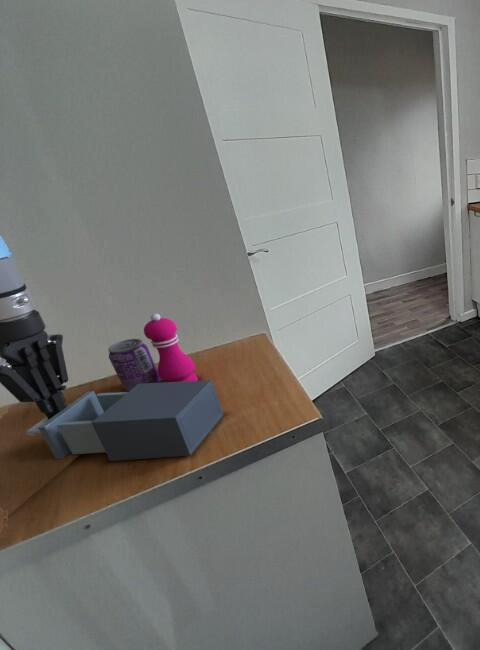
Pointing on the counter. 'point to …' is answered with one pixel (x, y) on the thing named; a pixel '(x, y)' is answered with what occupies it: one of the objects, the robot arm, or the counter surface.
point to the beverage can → (133, 363)
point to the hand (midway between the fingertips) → (61, 420)
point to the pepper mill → (169, 351)
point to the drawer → (76, 425)
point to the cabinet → (159, 420)
